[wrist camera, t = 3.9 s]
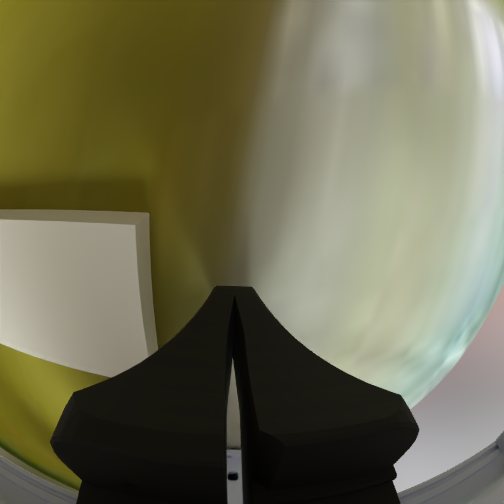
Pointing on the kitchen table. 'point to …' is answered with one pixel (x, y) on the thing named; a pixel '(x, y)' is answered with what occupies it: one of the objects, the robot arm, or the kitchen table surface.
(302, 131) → the kitchen table surface
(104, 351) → the tile
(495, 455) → the robot arm
